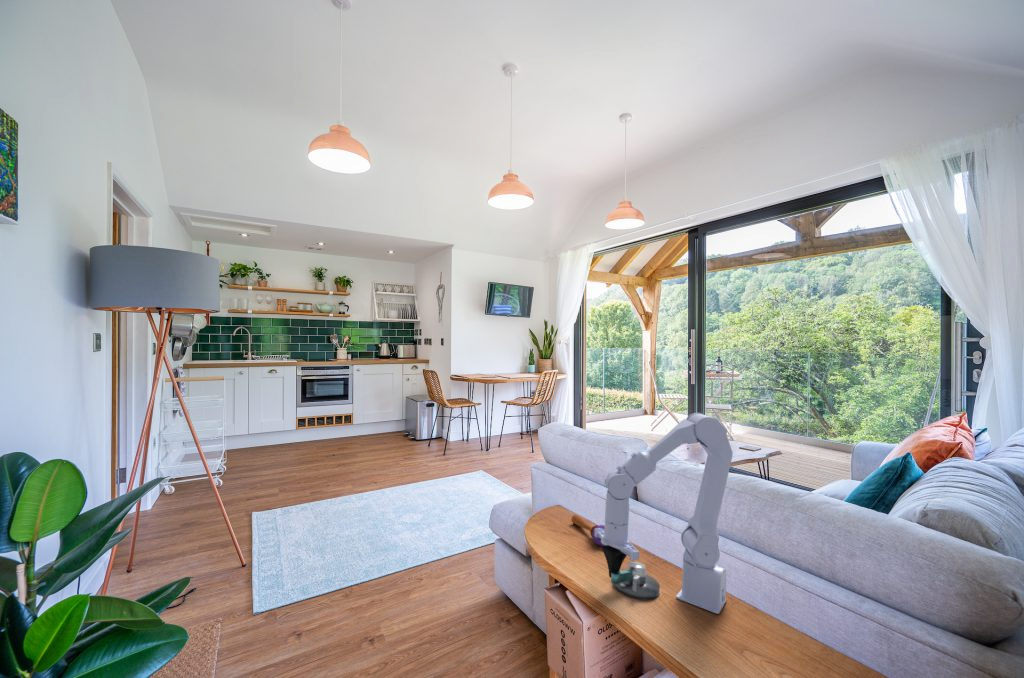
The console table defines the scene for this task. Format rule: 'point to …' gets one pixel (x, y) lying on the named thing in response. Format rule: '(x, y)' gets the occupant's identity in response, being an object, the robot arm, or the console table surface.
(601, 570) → the console table surface
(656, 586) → the post plate
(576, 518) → the purple maraca
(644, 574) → the teal ball-top lever
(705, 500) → the robot arm
